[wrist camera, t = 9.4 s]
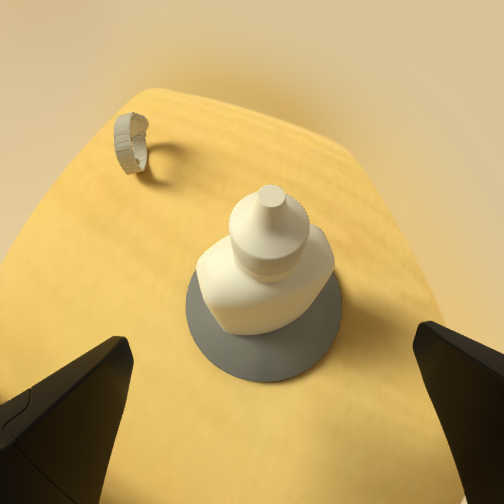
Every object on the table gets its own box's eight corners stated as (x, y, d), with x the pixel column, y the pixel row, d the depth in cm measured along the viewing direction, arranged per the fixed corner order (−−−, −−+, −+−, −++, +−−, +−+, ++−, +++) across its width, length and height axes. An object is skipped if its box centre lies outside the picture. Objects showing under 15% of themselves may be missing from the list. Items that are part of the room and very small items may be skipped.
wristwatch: (155, 139, 25) (141, 99, 21) (153, 180, 23) (135, 139, 19) (127, 146, 25) (109, 108, 21) (122, 187, 23) (99, 149, 19)
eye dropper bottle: (227, 265, 20) (194, 126, 9) (312, 282, 19) (375, 156, 8) (210, 330, 18) (139, 252, 7) (300, 348, 17) (374, 299, 6)
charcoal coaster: (364, 284, 19) (367, 281, 19) (284, 411, 16) (285, 412, 16) (246, 211, 22) (246, 206, 21) (158, 320, 19) (155, 318, 18)
